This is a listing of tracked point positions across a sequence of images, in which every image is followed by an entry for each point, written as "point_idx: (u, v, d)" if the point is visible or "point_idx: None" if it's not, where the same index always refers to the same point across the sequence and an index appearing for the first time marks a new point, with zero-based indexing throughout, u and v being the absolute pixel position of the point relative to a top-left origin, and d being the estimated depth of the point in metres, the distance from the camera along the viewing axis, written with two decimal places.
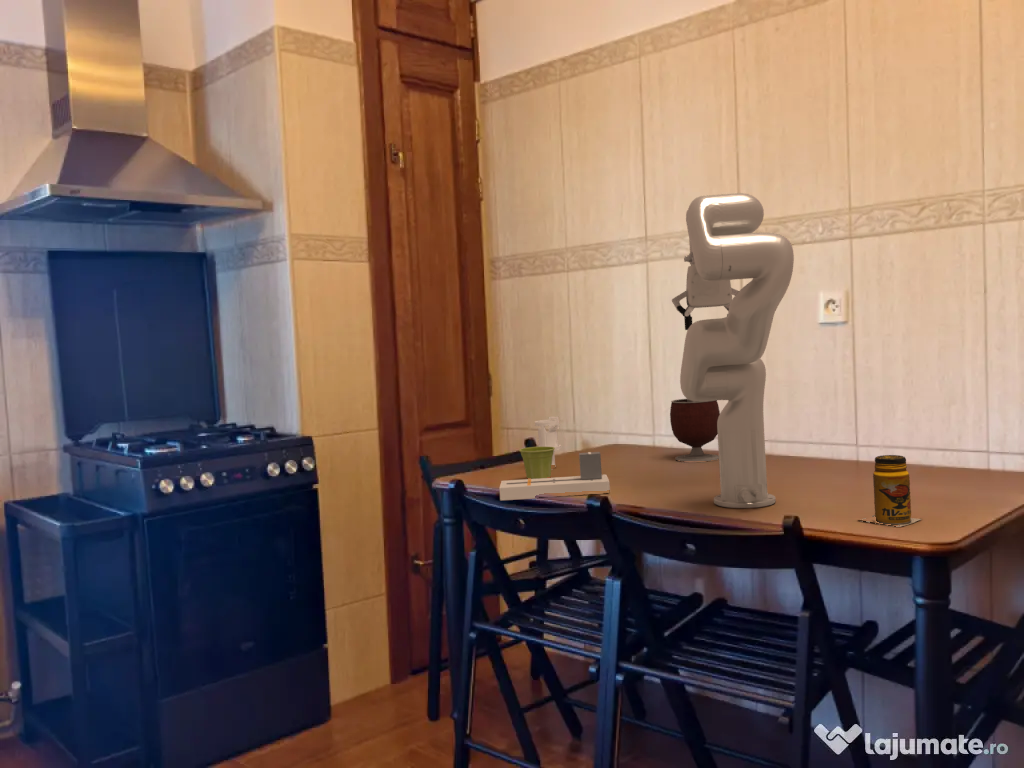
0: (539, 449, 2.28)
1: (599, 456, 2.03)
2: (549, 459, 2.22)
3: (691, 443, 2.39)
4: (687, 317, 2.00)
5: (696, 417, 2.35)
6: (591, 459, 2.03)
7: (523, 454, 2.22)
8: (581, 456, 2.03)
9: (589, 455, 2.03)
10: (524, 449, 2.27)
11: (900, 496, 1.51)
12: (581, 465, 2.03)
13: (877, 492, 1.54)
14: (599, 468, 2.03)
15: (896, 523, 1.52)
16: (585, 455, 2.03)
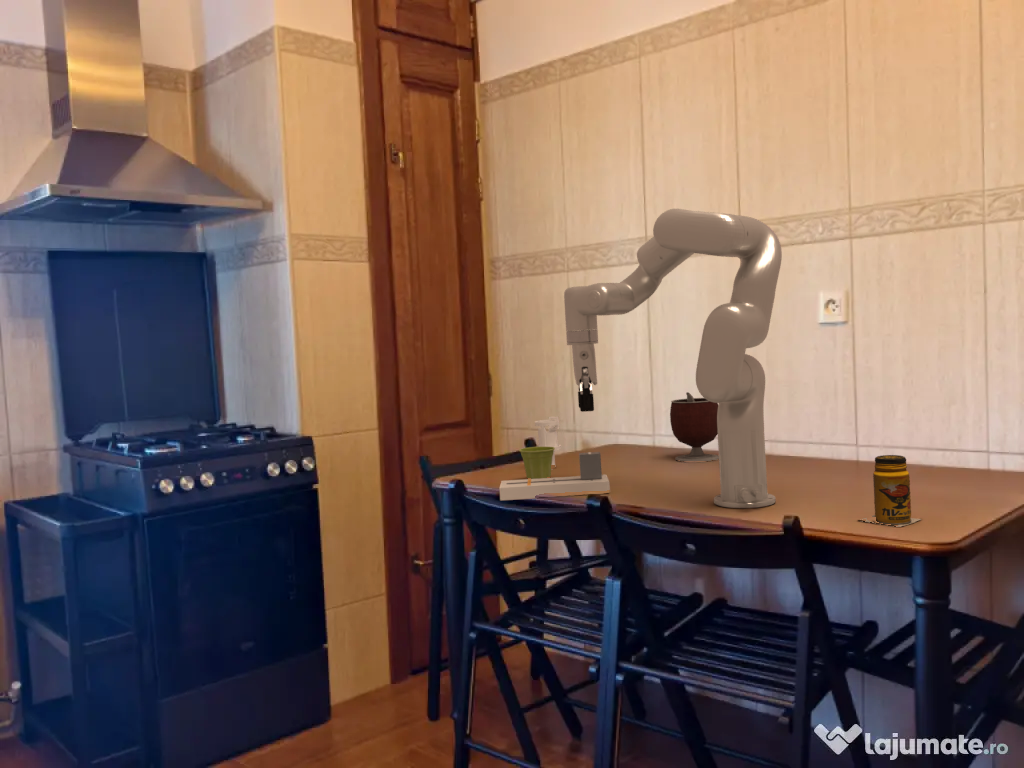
0: (539, 449, 2.28)
1: (599, 456, 2.03)
2: (549, 459, 2.22)
3: (691, 443, 2.39)
4: (589, 395, 1.98)
5: (696, 417, 2.35)
6: (591, 459, 2.03)
7: (523, 454, 2.22)
8: (581, 456, 2.03)
9: (589, 455, 2.03)
10: (524, 449, 2.27)
11: (900, 496, 1.51)
12: (581, 465, 2.03)
13: (877, 492, 1.54)
14: (599, 468, 2.03)
15: (896, 523, 1.52)
16: (585, 455, 2.03)
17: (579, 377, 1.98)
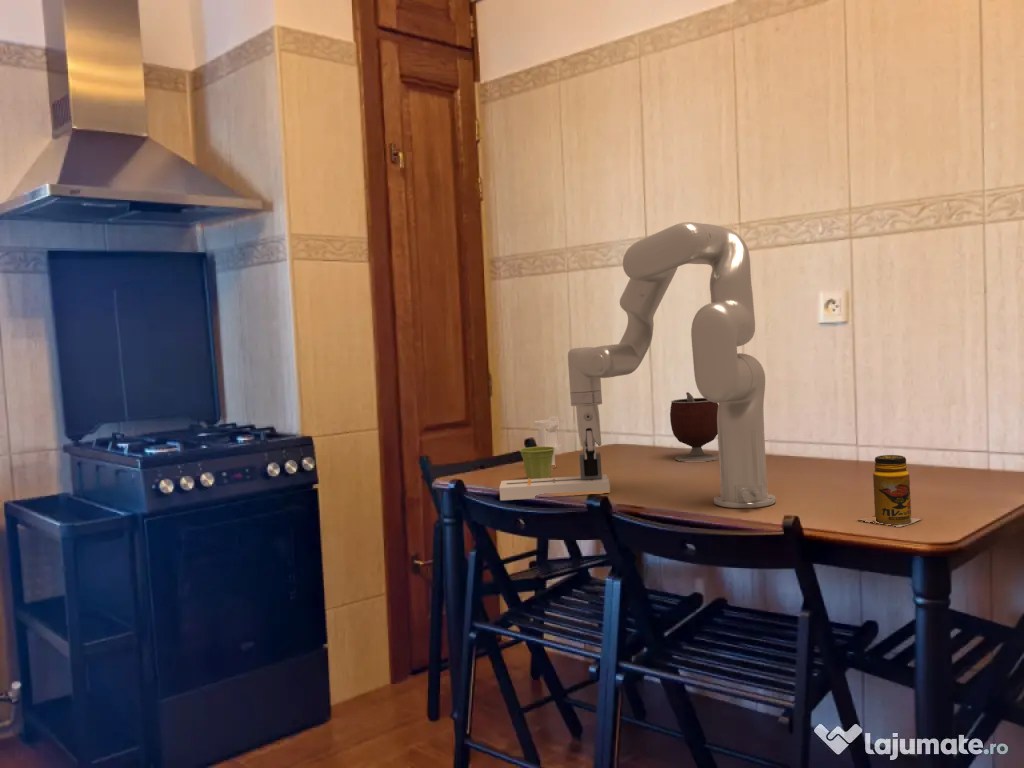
0: (539, 449, 2.28)
1: (599, 456, 2.03)
2: (549, 459, 2.22)
3: (691, 443, 2.39)
4: (593, 460, 2.02)
5: (696, 417, 2.35)
6: None
7: (523, 454, 2.22)
8: (581, 456, 2.03)
9: None
10: (524, 449, 2.27)
11: (900, 496, 1.51)
12: (581, 465, 2.03)
13: (877, 492, 1.54)
14: (599, 468, 2.03)
15: (896, 523, 1.52)
16: None
17: (584, 445, 2.00)
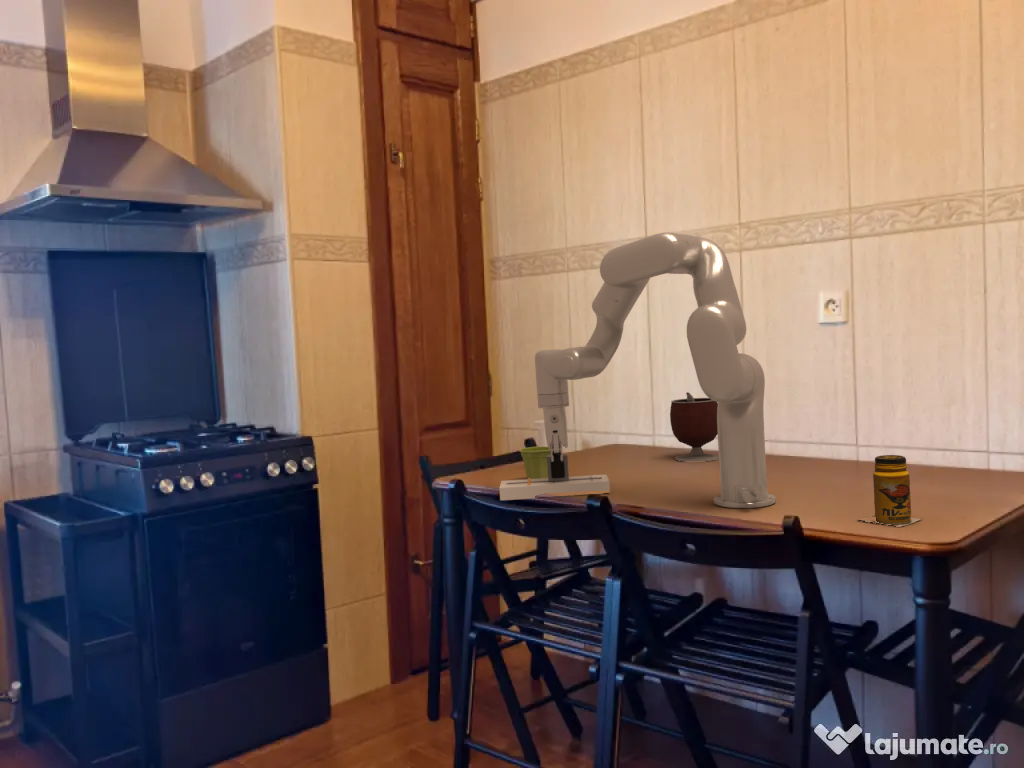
0: (539, 449, 2.28)
1: (566, 458, 2.03)
2: None
3: (691, 443, 2.39)
4: (560, 462, 2.02)
5: (696, 417, 2.35)
6: None
7: (523, 454, 2.22)
8: (548, 458, 2.03)
9: None
10: (524, 449, 2.27)
11: (900, 496, 1.51)
12: (548, 467, 2.03)
13: (877, 492, 1.54)
14: (566, 470, 2.03)
15: (896, 523, 1.52)
16: None
17: None
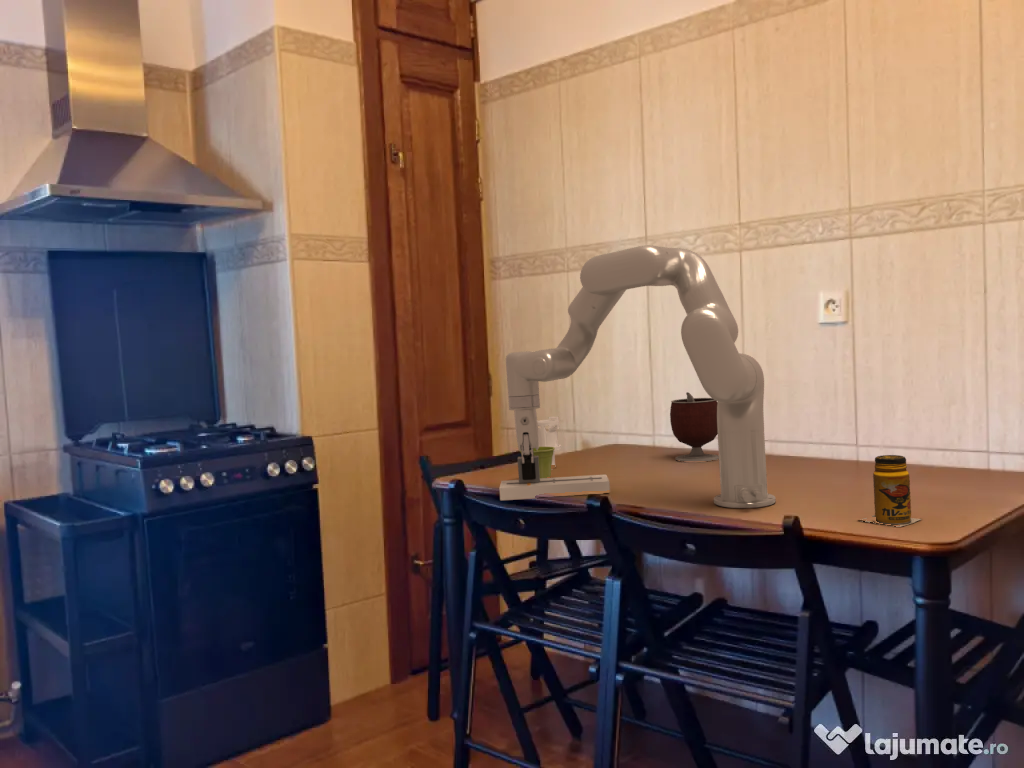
0: (539, 449, 2.28)
1: (537, 460, 2.03)
2: (549, 459, 2.22)
3: (691, 443, 2.39)
4: (531, 464, 2.02)
5: (696, 417, 2.35)
6: None
7: None
8: (519, 460, 2.03)
9: None
10: None
11: (900, 496, 1.51)
12: (519, 469, 2.04)
13: (877, 492, 1.54)
14: (537, 472, 2.03)
15: (896, 523, 1.52)
16: None
17: (521, 449, 2.01)
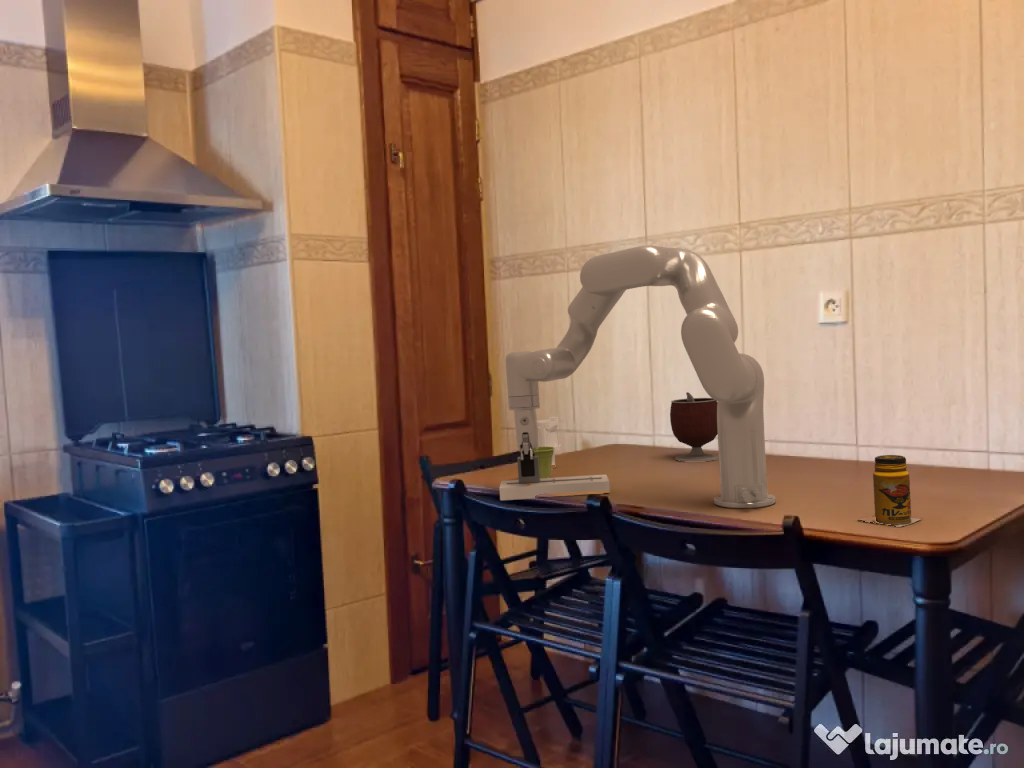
0: (539, 449, 2.28)
1: (537, 460, 2.03)
2: (549, 459, 2.22)
3: (691, 443, 2.39)
4: (530, 460, 1.99)
5: (696, 417, 2.35)
6: None
7: None
8: (519, 460, 2.03)
9: None
10: None
11: (900, 496, 1.51)
12: (519, 469, 2.04)
13: (877, 492, 1.54)
14: (537, 472, 2.03)
15: (896, 523, 1.52)
16: None
17: (520, 443, 2.00)
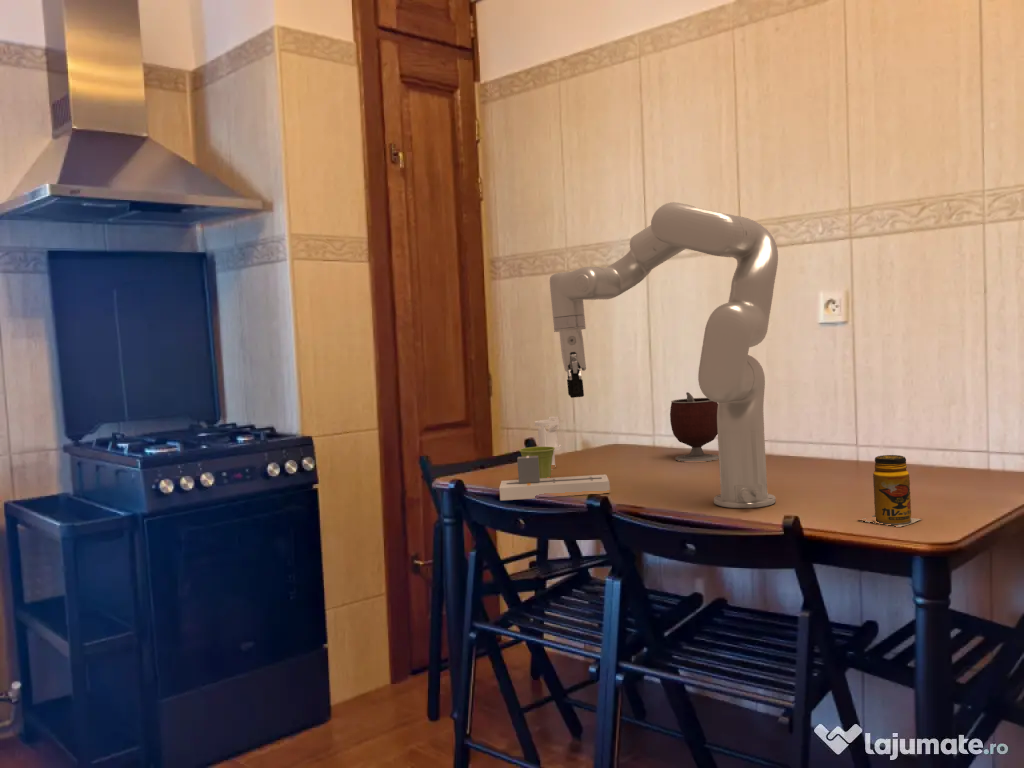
0: (539, 449, 2.28)
1: (537, 460, 2.03)
2: (549, 459, 2.22)
3: (691, 443, 2.39)
4: (579, 380, 1.96)
5: (696, 417, 2.35)
6: (529, 463, 2.03)
7: (523, 454, 2.22)
8: (519, 460, 2.03)
9: (527, 459, 2.03)
10: (524, 449, 2.27)
11: (900, 496, 1.51)
12: (519, 469, 2.04)
13: (877, 492, 1.54)
14: (537, 472, 2.03)
15: (896, 523, 1.52)
16: (523, 459, 2.03)
17: (568, 363, 1.96)
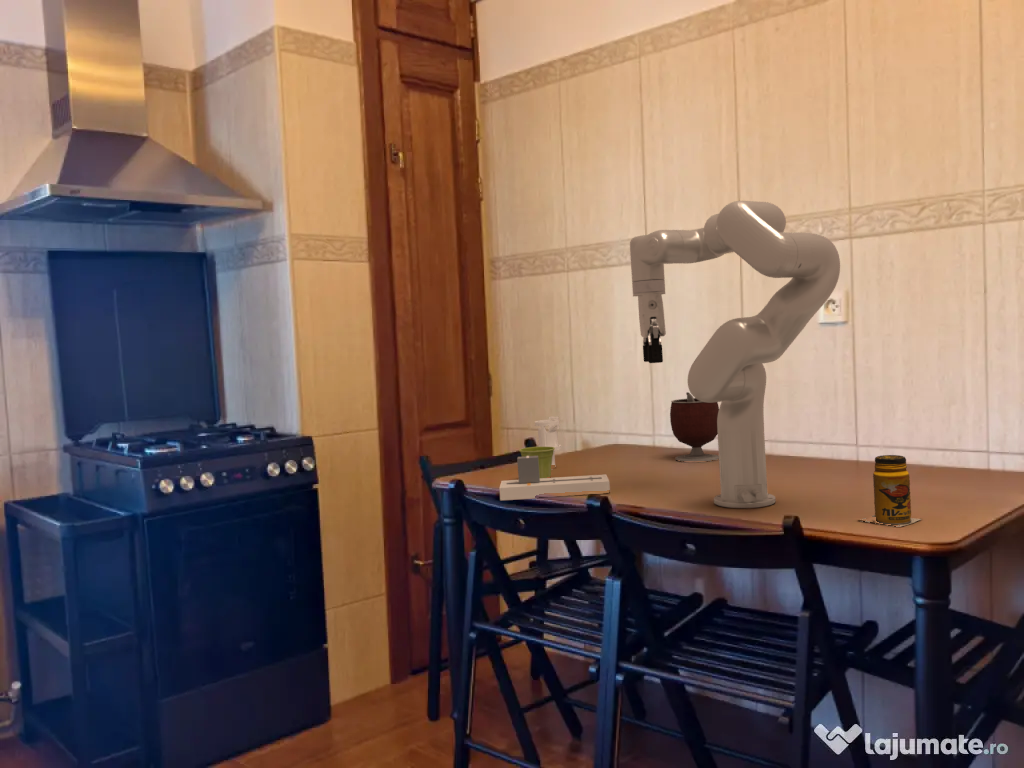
0: (539, 449, 2.28)
1: (537, 460, 2.03)
2: (549, 459, 2.22)
3: (691, 443, 2.39)
4: (658, 346, 1.93)
5: (696, 417, 2.35)
6: (529, 463, 2.03)
7: (523, 454, 2.22)
8: (519, 460, 2.03)
9: (527, 459, 2.03)
10: (524, 449, 2.27)
11: (900, 496, 1.51)
12: (519, 469, 2.04)
13: (877, 492, 1.54)
14: (537, 472, 2.03)
15: (896, 523, 1.52)
16: (523, 459, 2.03)
17: (647, 328, 1.93)
